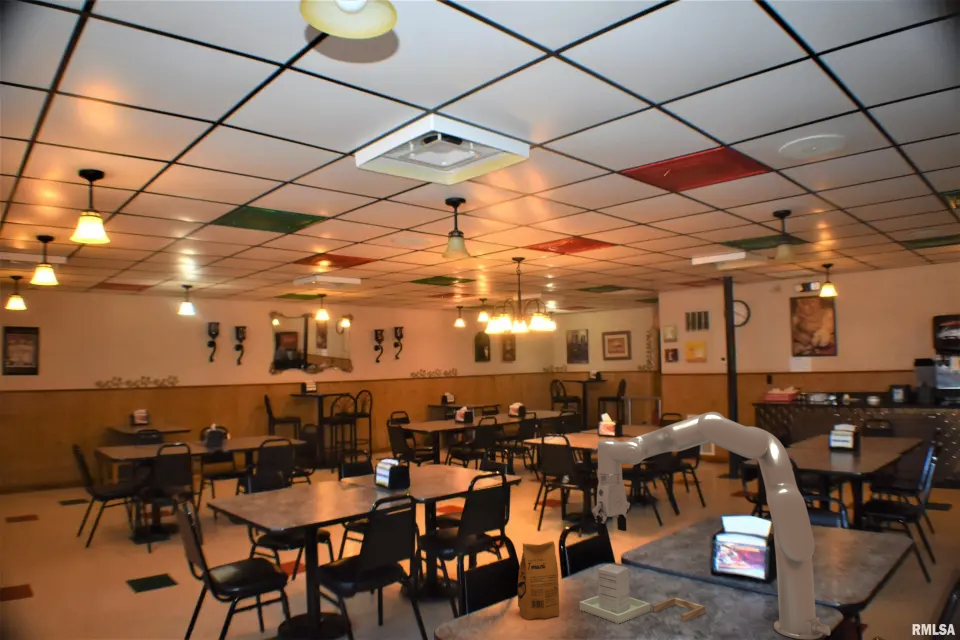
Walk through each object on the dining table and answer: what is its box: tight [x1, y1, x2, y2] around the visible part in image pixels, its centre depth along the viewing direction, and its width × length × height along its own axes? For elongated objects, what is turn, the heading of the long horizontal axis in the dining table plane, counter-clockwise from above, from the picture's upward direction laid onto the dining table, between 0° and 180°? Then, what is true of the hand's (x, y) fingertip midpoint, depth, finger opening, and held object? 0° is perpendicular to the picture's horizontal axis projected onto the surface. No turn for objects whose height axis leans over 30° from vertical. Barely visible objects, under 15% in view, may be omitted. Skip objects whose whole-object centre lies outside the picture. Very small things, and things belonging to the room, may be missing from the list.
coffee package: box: [517, 540, 560, 621], centre depth 202 cm, size 10×12×22 cm
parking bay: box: [651, 596, 707, 623], centre depth 200 cm, size 12×12×2 cm
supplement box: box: [597, 563, 631, 614], centre depth 203 cm, size 7×7×13 cm
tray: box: [579, 595, 651, 625], centre depth 202 cm, size 16×16×2 cm
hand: (612, 532), depth 204 cm, fingers open, 9 cm apart
